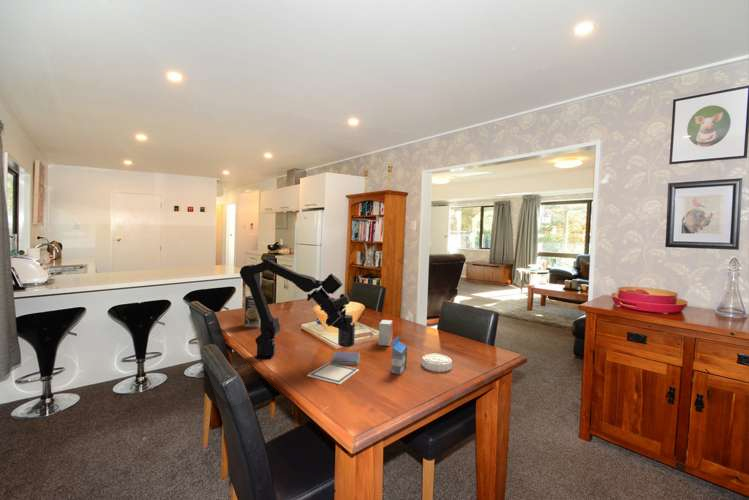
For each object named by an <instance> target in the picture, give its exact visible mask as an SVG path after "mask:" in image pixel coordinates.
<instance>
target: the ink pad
mask: <svg viewBox="0 0 749 500" xmlns="http://www.w3.org/2000/svg"><path fill="white" fill-rule="evenodd" d="M360 358H361V353H360V352H349V351H347V352H345V351H335V352H334V353H333V356H332V358H331V361H330V363H333V364H337V365H342V366H359V364H360V363H359V362H360Z"/></svg>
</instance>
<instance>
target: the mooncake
mask: <svg viewBox="0 0 749 500" xmlns="http://www.w3.org/2000/svg"><path fill="white" fill-rule="evenodd" d="M421 366H422V368H425V369H426V370H428V371H433V372H439V373H441V372H443V373H444V372H448V371H451V369H452V368H453V367H452V366H453V359H451V357H449V356H447V355H444V354H441V353H434V352H433V353H426V354H423V356H422V357H421Z"/></svg>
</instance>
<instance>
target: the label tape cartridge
mask: <svg viewBox="0 0 749 500" xmlns="http://www.w3.org/2000/svg"><path fill="white" fill-rule="evenodd" d="M391 344H392V345H391V346H392V352H391V353H392V354H391V372H390V373H391V374H394V375H399V376H400V375H401V374H402V373H403V372H404V370H405V369H406V368H407V363H408V362H407V358H408V346H407V345H405V343H402V342H401V341H400V336H399V335H397V336H396V337H395V338H394V339H392V342H391Z"/></svg>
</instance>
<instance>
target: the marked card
mask: <svg viewBox="0 0 749 500" xmlns="http://www.w3.org/2000/svg"><path fill="white" fill-rule="evenodd" d="M359 371H360V369H357V368H355V367H350V366H347V365H338V364H333V363H331V362H326V364H324V365H322V366H320V367H319V368H317V369H315V370H314V371H312V372H310V373H308V374H307V375H306V376H307V377H310V378H313V379H317V380H321V381H325V382H329V383H333V384H337V385H341V384H343V383H344V382H345V381H347V380H349V378H351V377H352V376H354V375H355V374H356V373H357V372H359Z"/></svg>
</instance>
